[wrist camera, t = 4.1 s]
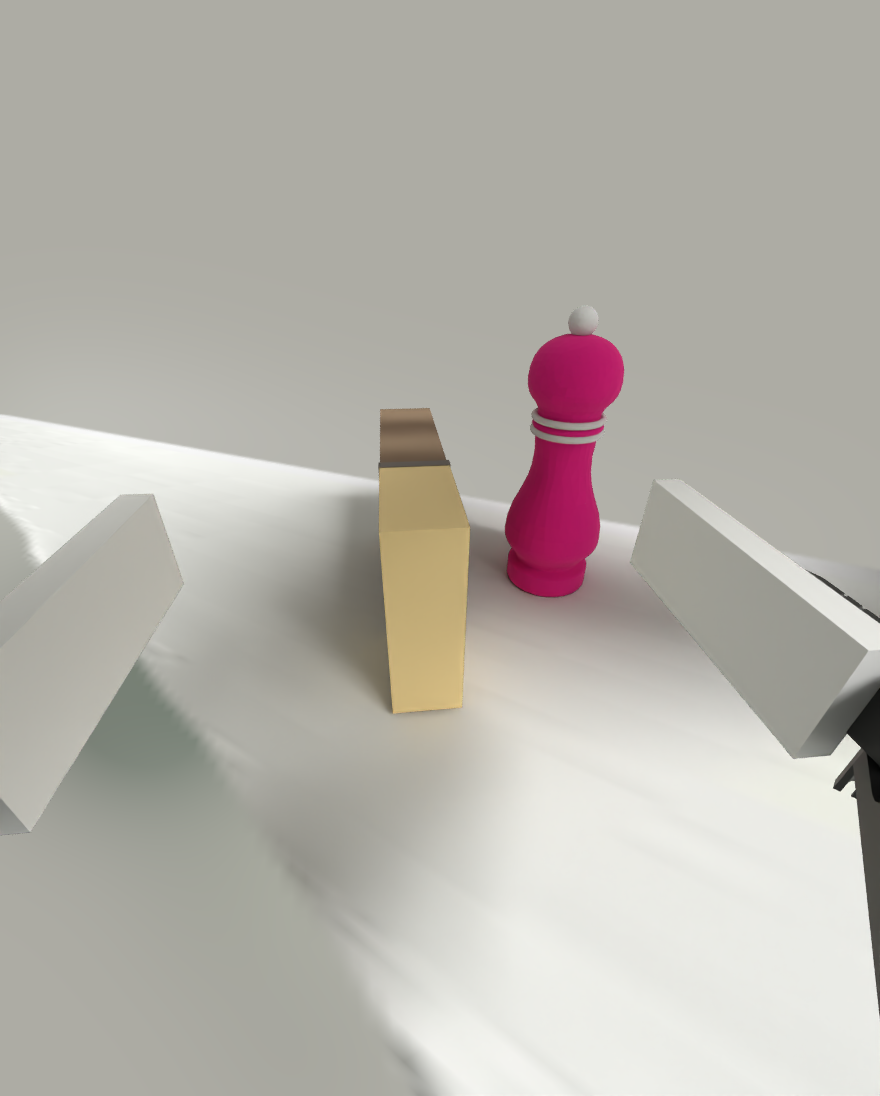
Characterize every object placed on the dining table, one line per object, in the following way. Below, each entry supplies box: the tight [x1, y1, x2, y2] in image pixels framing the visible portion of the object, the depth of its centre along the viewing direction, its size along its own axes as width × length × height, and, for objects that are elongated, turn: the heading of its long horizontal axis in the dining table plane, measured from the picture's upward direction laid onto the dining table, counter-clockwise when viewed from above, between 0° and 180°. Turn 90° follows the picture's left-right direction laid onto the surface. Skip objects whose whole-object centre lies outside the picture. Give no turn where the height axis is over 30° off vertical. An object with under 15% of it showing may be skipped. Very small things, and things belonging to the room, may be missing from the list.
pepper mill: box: [505, 306, 624, 597], centre depth 33 cm, size 7×7×20 cm
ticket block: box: [380, 408, 446, 463], centre depth 35 cm, size 12×4×12 cm, turn 6°
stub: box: [379, 460, 470, 713], centre depth 27 cm, size 8×4×12 cm, turn 6°
